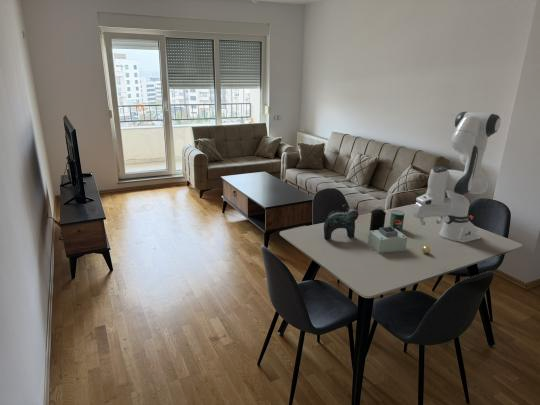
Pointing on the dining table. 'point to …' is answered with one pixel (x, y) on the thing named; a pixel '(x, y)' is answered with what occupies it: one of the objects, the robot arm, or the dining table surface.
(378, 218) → the aerosol can
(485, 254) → the dining table surface
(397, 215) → the canned tomato
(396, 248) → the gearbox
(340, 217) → the dark green animal figurine
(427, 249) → the bead
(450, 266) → the dining table surface
